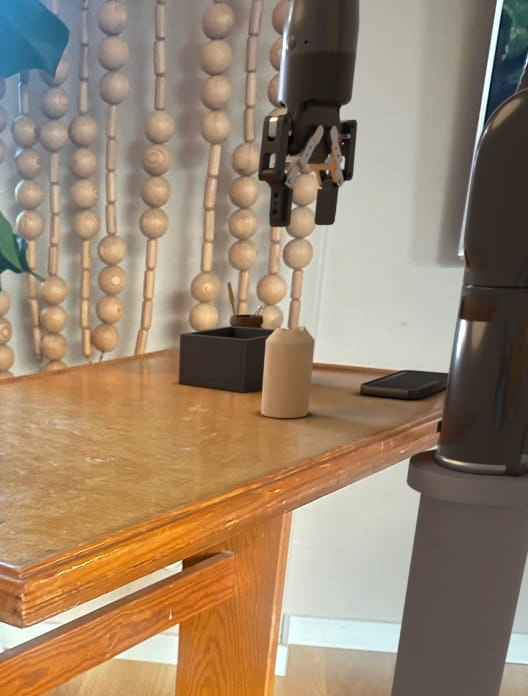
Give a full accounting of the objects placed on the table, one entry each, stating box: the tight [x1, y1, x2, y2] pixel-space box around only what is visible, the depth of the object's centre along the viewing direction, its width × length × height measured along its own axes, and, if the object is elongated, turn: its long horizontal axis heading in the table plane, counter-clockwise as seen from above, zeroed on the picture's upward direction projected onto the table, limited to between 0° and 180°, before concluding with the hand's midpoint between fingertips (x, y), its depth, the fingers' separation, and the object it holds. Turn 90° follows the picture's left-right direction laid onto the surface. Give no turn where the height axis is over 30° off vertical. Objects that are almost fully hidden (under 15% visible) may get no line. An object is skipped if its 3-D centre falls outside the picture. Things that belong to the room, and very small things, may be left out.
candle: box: [260, 325, 316, 419], centre depth 108 cm, size 6×6×10 cm
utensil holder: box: [226, 281, 268, 329], centre depth 146 cm, size 6×6×12 cm
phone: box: [359, 369, 449, 400], centre depth 122 cm, size 8×1×15 cm
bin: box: [178, 325, 276, 394], centre depth 130 cm, size 12×12×7 cm
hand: (302, 226), depth 101 cm, fingers open, 8 cm apart
